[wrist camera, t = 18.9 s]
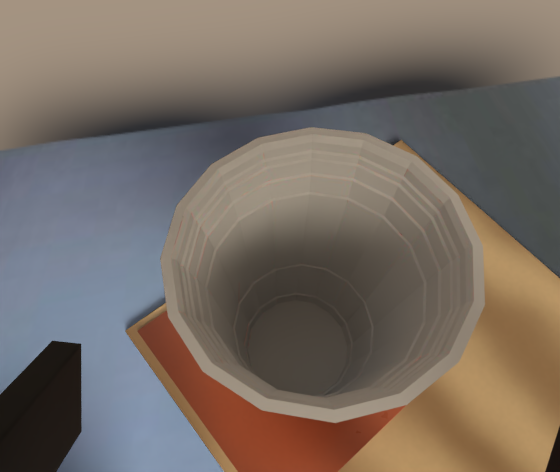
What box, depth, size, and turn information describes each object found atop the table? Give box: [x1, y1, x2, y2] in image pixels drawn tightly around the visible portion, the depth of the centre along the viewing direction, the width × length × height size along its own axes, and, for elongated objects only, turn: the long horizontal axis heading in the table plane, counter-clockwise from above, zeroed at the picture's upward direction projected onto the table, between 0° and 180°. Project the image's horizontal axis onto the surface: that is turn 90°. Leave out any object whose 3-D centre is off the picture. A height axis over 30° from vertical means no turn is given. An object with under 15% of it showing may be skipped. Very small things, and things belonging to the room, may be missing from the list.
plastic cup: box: [160, 127, 485, 423], centre depth 22 cm, size 11×11×12 cm
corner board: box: [125, 140, 560, 472], centre depth 27 cm, size 22×20×1 cm
